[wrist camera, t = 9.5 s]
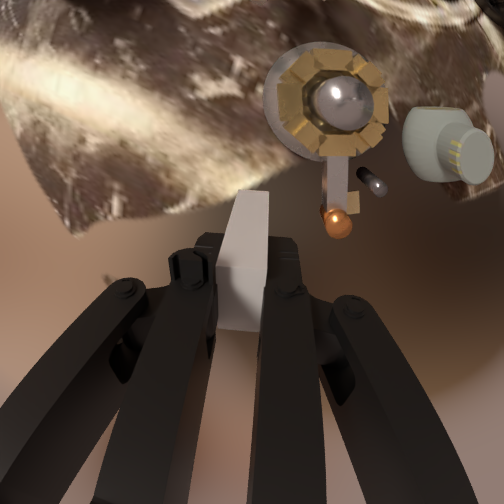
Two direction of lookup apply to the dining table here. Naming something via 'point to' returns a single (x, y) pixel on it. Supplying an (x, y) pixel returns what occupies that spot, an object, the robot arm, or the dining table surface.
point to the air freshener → (446, 146)
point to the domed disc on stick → (332, 142)
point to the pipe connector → (262, 2)
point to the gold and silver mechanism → (325, 111)
